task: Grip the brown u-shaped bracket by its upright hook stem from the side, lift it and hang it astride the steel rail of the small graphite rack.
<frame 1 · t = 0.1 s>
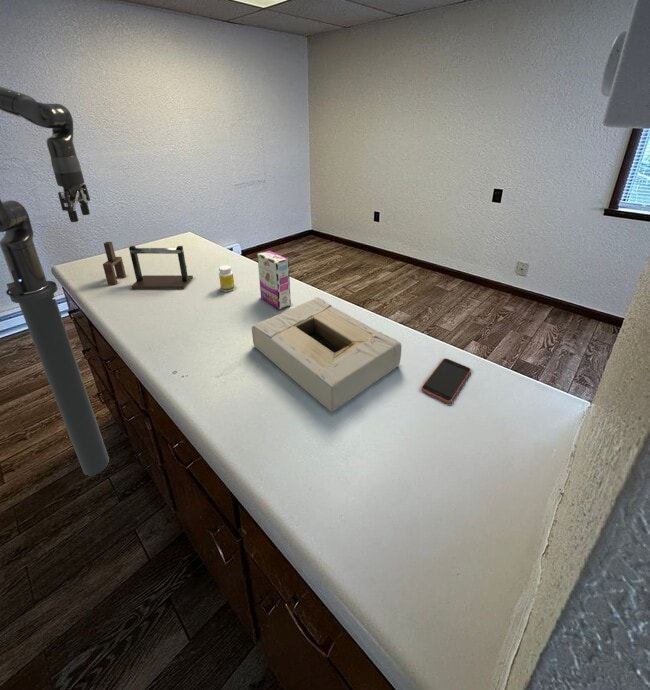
hand: (80, 218, 123), 25 cm above the table, tool pointing down, fingers open, 8 cm apart
brown u-shaped bracket: (117, 280, 136), on the table
candy bar box: (275, 302, 120), on the table
supplement bottle: (227, 289, 129), on the table
rack: (163, 283, 133), on the table
box: (323, 356, 93), on the table
smartphone: (446, 380, 85), on the table
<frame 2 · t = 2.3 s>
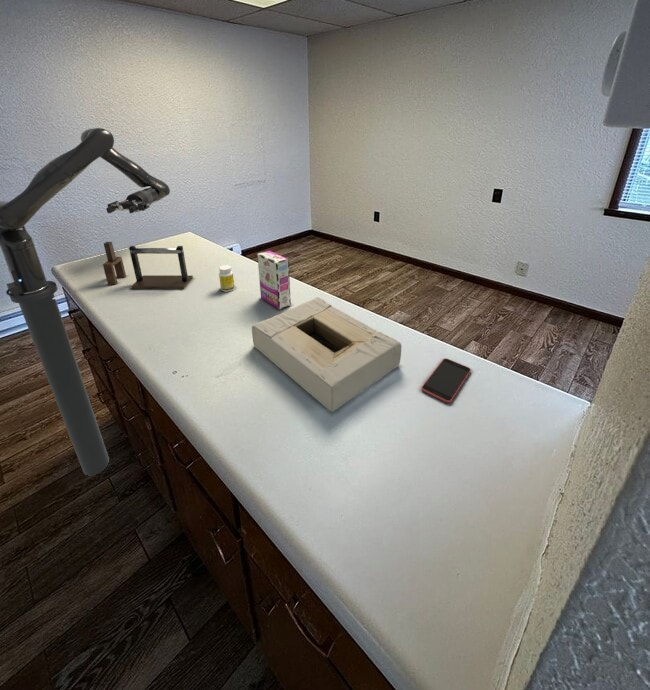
hand: (118, 210, 137), 24 cm above the table, tool horizontal, fingers open, 8 cm apart
nothing on the table moved.
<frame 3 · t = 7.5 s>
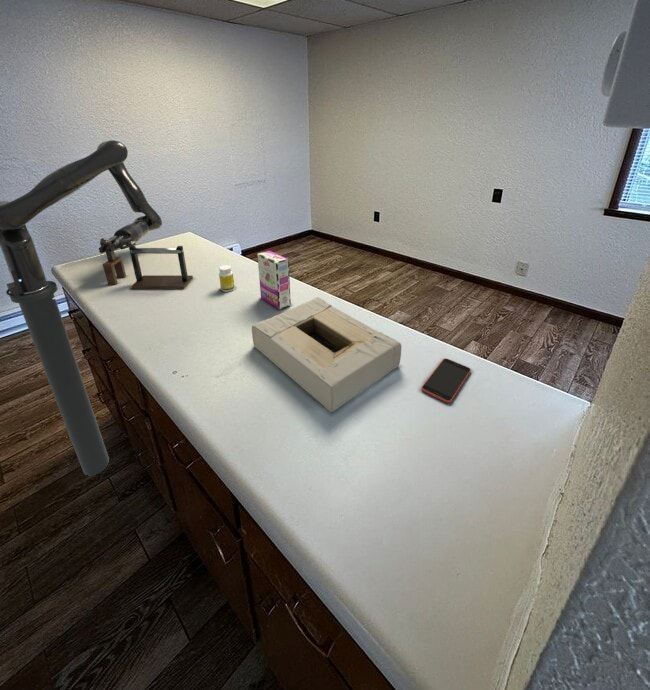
hand: (104, 250, 128), 13 cm above the table, tool horizontal, fingers closed on brown u-shaped bracket, 2 cm apart
brown u-shaped bracket: (117, 280, 136), on the table, touching gripper
everything else where it was.
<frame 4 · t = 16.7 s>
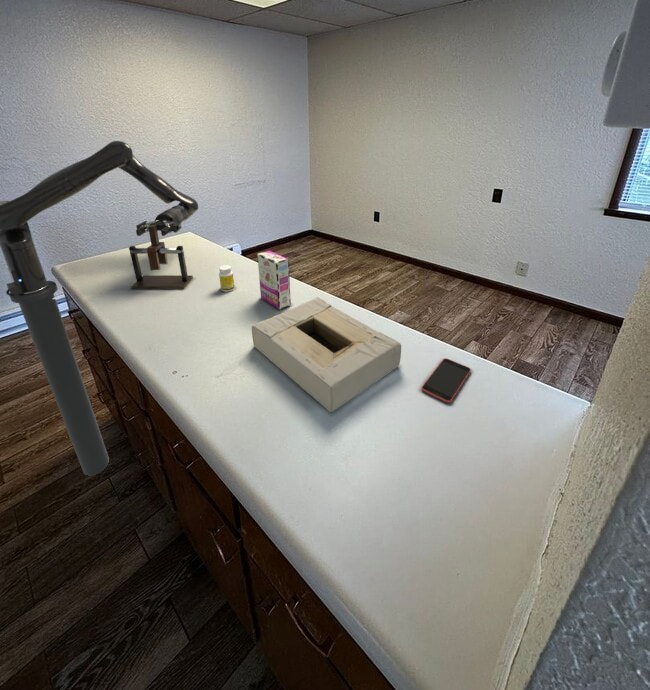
hand: (150, 233, 124), 20 cm above the table, tool horizontal, fingers open, 8 cm apart
brown u-shaped bracket: (159, 266, 130), point 7 cm above the table, touching rack
everything else where it was.
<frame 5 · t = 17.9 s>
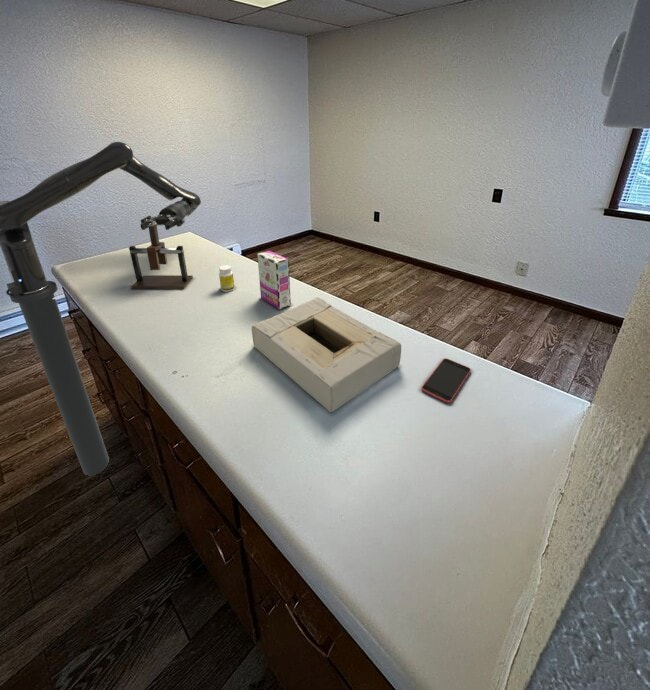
hand: (154, 227, 126), 21 cm above the table, tool horizontal, fingers open, 8 cm apart
nothing on the table moved.
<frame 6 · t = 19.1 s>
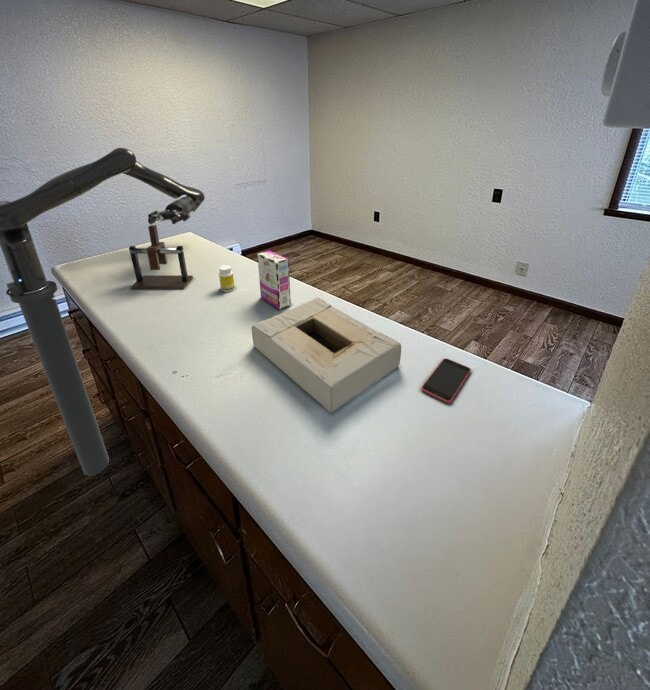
hand: (161, 221, 132), 22 cm above the table, tool horizontal, fingers open, 8 cm apart
nothing on the table moved.
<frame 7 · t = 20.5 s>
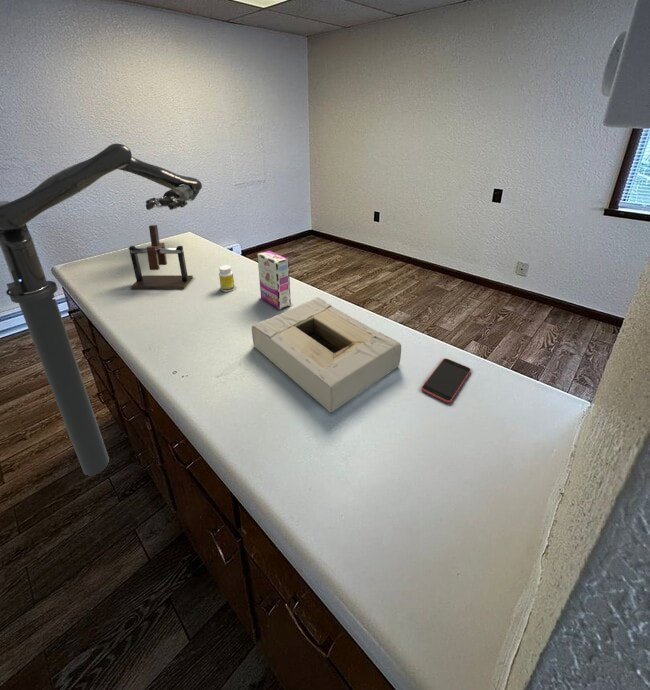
hand: (158, 207, 134), 26 cm above the table, tool horizontal, fingers open, 8 cm apart
nothing on the table moved.
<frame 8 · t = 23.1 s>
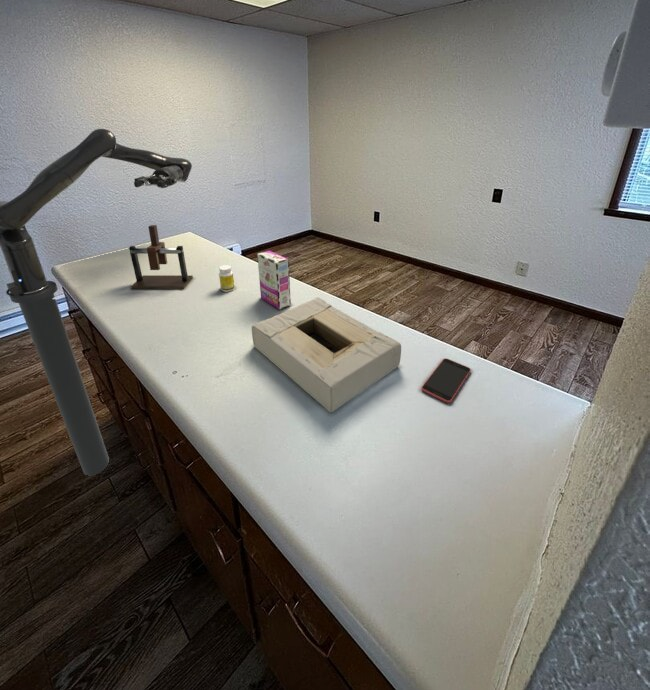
hand: (147, 184, 132), 34 cm above the table, tool horizontal, fingers open, 8 cm apart
nothing on the table moved.
at the end: brown u-shaped bracket 0.1 cm off-centre on the rack, point 7.0 cm above the rack's base; brown u-shaped bracket tilted 1°; the gripper is holding nothing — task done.
